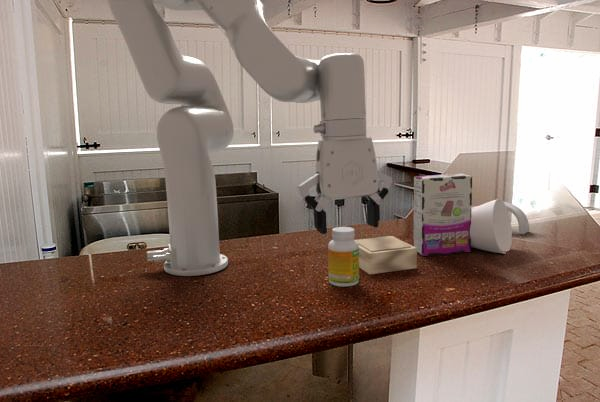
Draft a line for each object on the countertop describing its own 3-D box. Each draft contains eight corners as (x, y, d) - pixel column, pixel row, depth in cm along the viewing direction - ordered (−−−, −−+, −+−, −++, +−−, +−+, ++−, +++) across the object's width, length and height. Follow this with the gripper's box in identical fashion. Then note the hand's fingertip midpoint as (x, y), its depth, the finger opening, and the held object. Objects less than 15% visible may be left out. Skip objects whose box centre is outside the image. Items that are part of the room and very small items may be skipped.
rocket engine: (415, 199, 112) (494, 188, 100) (436, 223, 119) (513, 216, 107) (408, 243, 106) (491, 237, 95) (430, 266, 113) (510, 263, 102)
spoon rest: (426, 225, 128) (426, 199, 127) (446, 217, 137) (446, 192, 136) (518, 239, 113) (520, 209, 111) (534, 229, 121) (536, 201, 120)
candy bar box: (459, 246, 107) (462, 172, 104) (471, 252, 102) (474, 175, 99) (411, 250, 105) (413, 175, 102) (421, 256, 100) (423, 178, 97)
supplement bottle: (357, 288, 83) (357, 233, 81) (326, 286, 84) (325, 232, 83) (360, 277, 88) (360, 226, 87) (330, 276, 89) (330, 225, 88)
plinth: (369, 274, 90) (369, 252, 89) (348, 259, 99) (347, 239, 99) (416, 268, 93) (417, 247, 92) (391, 254, 102) (391, 234, 102)
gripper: (301, 133, 75) (307, 240, 78) (400, 127, 80) (402, 227, 83) (288, 133, 82) (294, 230, 85) (379, 127, 88) (382, 219, 90)
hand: (347, 229), depth 84 cm, fingers open, 9 cm apart
